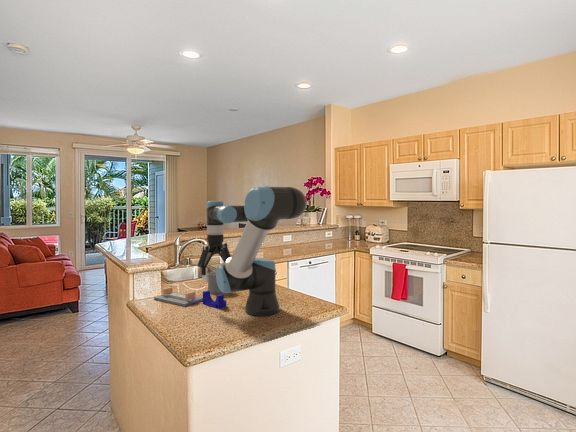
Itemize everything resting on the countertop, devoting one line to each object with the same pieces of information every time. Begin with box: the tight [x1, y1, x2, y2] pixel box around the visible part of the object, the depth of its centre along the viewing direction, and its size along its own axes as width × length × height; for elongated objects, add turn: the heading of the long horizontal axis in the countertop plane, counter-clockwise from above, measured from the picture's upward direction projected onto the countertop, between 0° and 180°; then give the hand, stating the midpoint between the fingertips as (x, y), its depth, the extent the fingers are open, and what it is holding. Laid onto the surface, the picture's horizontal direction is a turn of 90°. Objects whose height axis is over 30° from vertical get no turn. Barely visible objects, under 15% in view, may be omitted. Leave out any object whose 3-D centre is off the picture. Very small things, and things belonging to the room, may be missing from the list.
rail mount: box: [153, 286, 203, 308], centre depth 173 cm, size 22×12×5 cm, turn 58°
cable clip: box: [202, 289, 227, 310], centre depth 165 cm, size 12×4×6 cm, turn 49°
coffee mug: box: [207, 271, 224, 295], centre depth 191 cm, size 13×10×10 cm
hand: (215, 279), depth 166 cm, fingers open, 13 cm apart
